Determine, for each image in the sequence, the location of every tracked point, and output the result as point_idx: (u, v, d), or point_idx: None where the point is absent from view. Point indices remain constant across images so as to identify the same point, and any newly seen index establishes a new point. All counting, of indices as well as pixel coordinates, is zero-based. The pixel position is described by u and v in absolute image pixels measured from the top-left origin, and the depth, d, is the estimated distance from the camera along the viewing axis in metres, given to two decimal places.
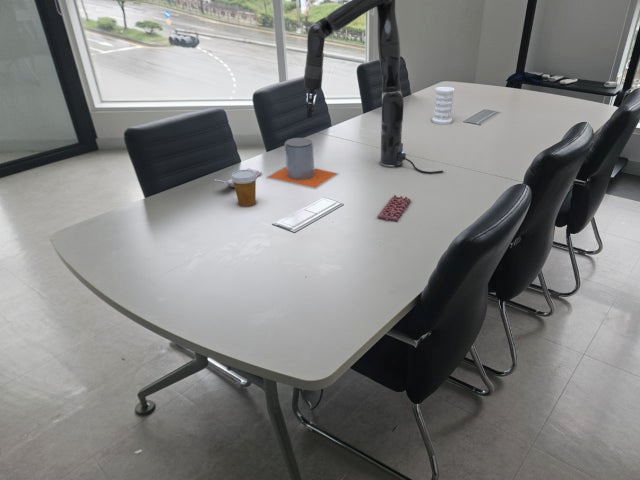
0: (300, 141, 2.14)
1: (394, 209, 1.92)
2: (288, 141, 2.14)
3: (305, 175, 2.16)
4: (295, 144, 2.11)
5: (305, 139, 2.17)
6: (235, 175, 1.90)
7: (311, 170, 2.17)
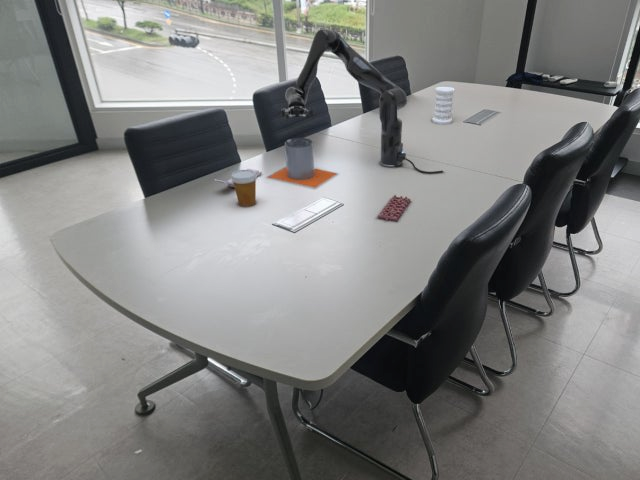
0: (300, 141, 2.14)
1: (394, 209, 1.92)
2: (288, 141, 2.14)
3: (305, 175, 2.16)
4: (295, 144, 2.11)
5: (305, 139, 2.17)
6: (235, 175, 1.90)
7: (311, 170, 2.17)
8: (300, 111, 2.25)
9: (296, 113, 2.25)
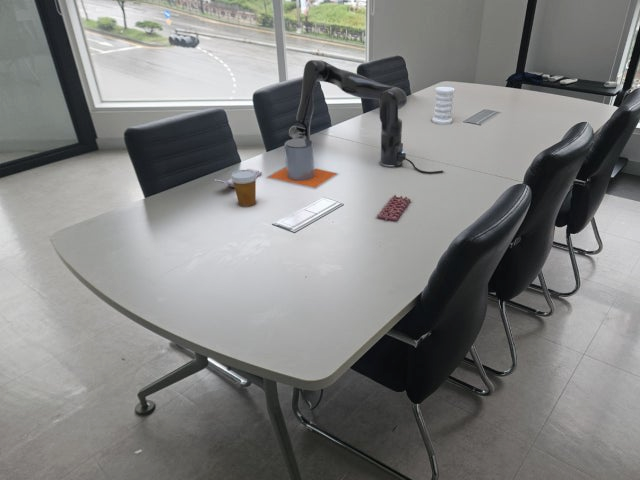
0: (300, 142, 2.14)
1: (394, 209, 1.92)
2: (288, 142, 2.13)
3: (305, 175, 2.16)
4: (295, 145, 2.10)
5: (305, 140, 2.16)
6: (235, 175, 1.90)
7: (311, 171, 2.17)
8: None
9: None
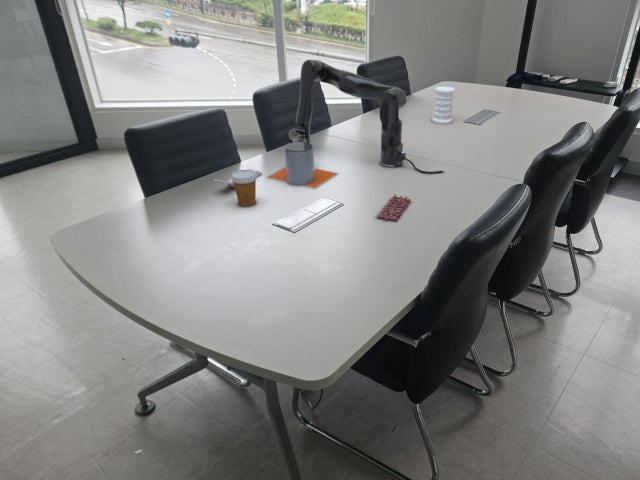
0: (300, 145, 2.10)
1: (393, 209, 1.92)
2: (288, 145, 2.09)
3: (306, 180, 2.12)
4: (295, 148, 2.06)
5: (305, 143, 2.12)
6: (235, 175, 1.90)
7: (311, 175, 2.13)
8: None
9: None
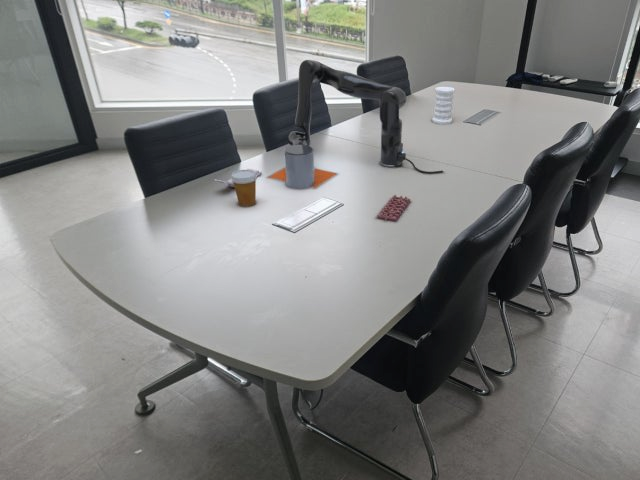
0: (300, 148, 2.07)
1: (393, 209, 1.92)
2: (288, 148, 2.06)
3: (306, 183, 2.09)
4: (295, 151, 2.03)
5: (305, 146, 2.09)
6: (235, 175, 1.90)
7: (311, 178, 2.10)
8: None
9: None
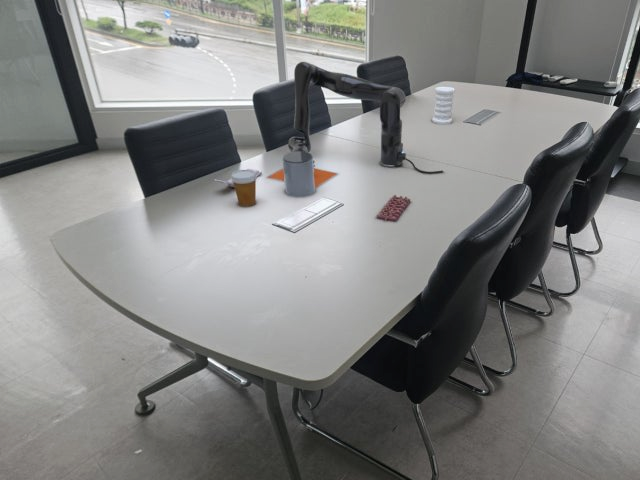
0: (299, 156, 2.00)
1: (393, 209, 1.92)
2: (286, 155, 2.00)
3: (304, 191, 2.02)
4: (293, 159, 1.97)
5: (305, 153, 2.02)
6: (235, 175, 1.90)
7: (310, 186, 2.03)
8: None
9: None
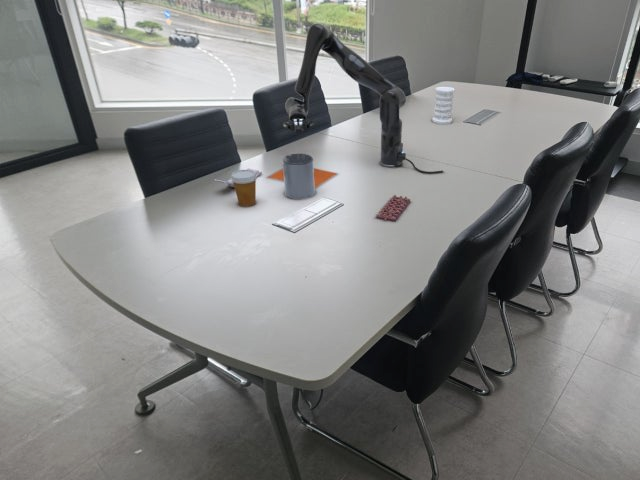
0: (299, 158, 1.98)
1: (393, 209, 1.92)
2: (286, 157, 1.99)
3: (304, 194, 2.00)
4: (293, 161, 1.95)
5: (305, 155, 2.01)
6: (235, 175, 1.90)
7: (310, 189, 2.01)
8: (297, 124, 2.10)
9: (297, 126, 2.10)
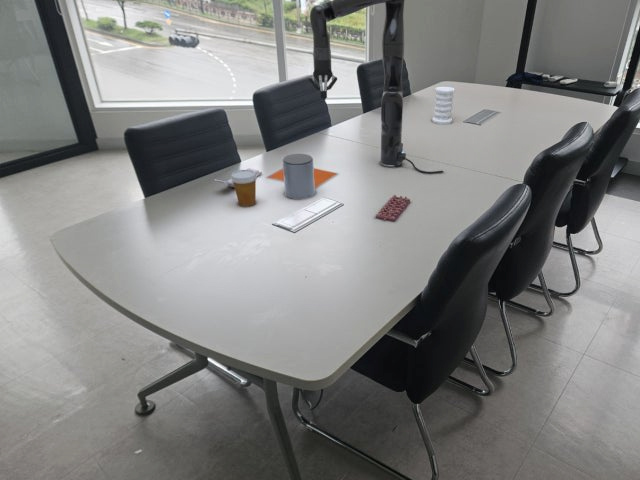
0: (299, 158, 1.98)
1: (393, 209, 1.92)
2: (286, 157, 1.99)
3: (304, 194, 2.00)
4: (293, 161, 1.95)
5: (305, 155, 2.01)
6: (235, 175, 1.90)
7: (310, 189, 2.01)
8: None
9: None
